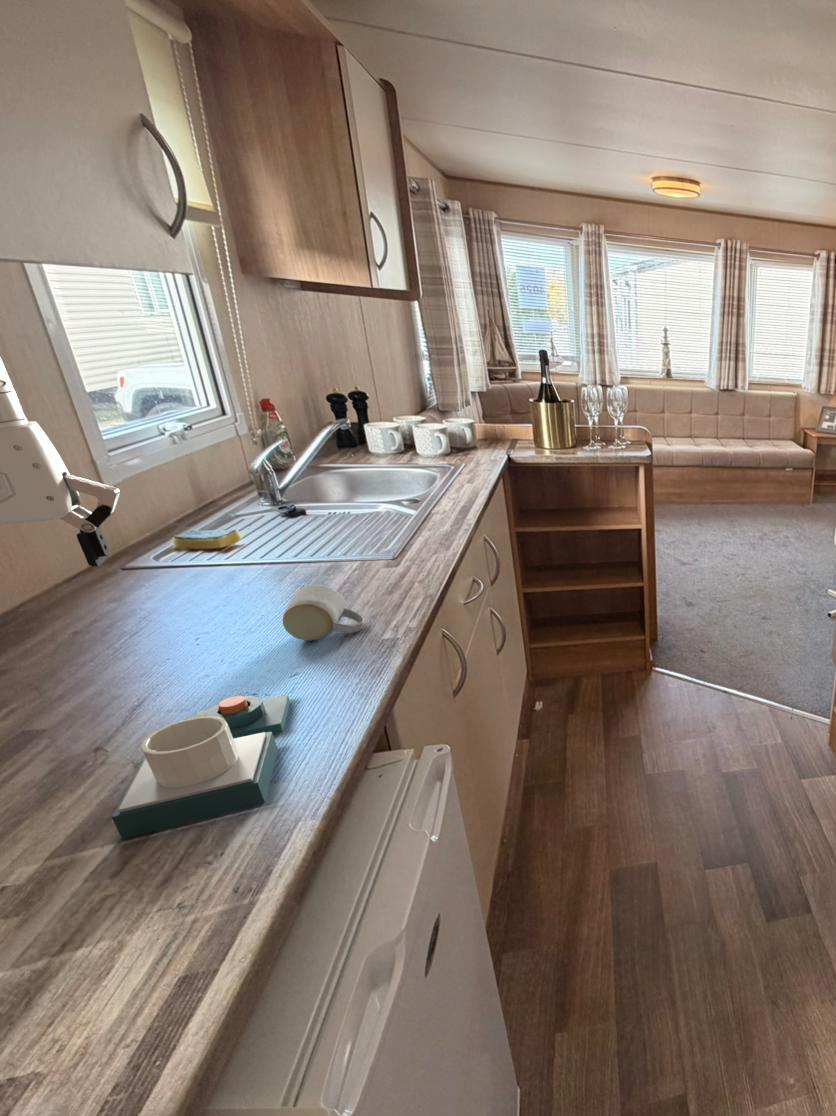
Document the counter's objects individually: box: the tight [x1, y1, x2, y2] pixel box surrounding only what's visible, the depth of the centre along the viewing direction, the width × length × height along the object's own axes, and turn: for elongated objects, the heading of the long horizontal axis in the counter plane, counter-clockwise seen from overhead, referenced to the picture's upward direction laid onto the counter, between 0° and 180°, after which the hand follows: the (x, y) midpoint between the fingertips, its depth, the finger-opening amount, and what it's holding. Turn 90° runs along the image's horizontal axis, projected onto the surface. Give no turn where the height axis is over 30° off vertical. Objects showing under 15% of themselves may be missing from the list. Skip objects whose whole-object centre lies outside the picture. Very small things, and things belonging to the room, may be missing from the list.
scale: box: [111, 732, 279, 839], centre depth 74 cm, size 12×11×3 cm
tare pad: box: [193, 694, 291, 739], centre depth 85 cm, size 10×8×3 cm
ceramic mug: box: [282, 584, 365, 642], centre depth 110 cm, size 11×8×8 cm
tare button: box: [217, 695, 248, 715], centre depth 85 cm, size 3×3×1 cm
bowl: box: [140, 716, 238, 788], centre depth 72 cm, size 7×7×5 cm
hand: (39, 568), depth 71 cm, fingers open, 9 cm apart
